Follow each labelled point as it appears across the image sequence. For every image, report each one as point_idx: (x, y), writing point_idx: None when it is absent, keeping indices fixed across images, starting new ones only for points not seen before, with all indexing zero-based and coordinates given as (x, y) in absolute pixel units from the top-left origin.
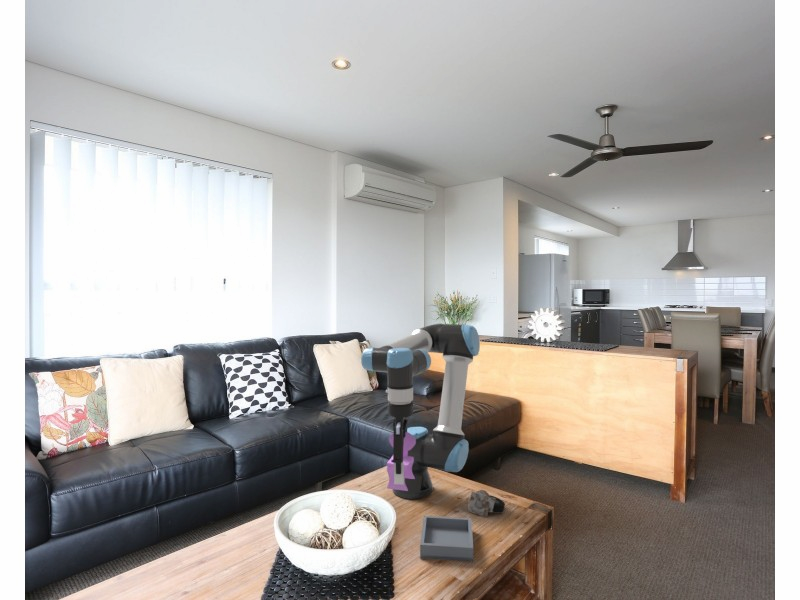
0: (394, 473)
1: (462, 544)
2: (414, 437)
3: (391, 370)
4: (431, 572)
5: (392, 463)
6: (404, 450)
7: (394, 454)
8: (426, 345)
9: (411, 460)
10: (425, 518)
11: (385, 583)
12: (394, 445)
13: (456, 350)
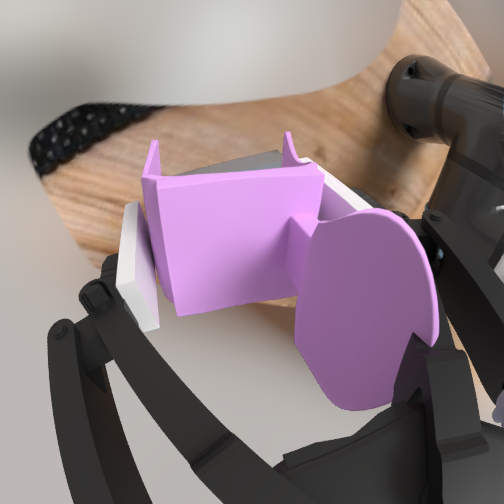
0: (121, 238)
1: None
2: (343, 408)
3: None
4: (123, 216)
5: (165, 229)
6: (301, 296)
7: (55, 380)
8: None
9: (257, 300)
10: (277, 167)
11: (54, 151)
12: (63, 445)
13: None
